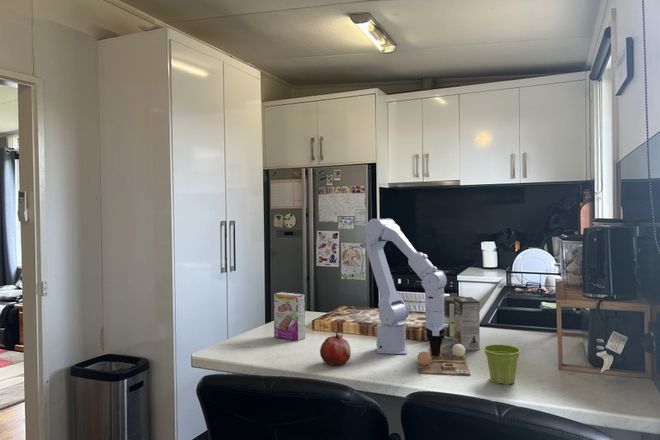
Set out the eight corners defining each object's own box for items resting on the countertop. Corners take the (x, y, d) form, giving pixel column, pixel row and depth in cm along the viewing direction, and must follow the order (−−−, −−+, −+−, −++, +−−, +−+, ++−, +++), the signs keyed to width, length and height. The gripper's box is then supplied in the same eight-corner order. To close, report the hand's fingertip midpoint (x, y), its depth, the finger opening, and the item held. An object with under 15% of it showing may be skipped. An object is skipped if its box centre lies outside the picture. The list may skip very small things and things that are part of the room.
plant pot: (501, 389, 125) (501, 355, 125) (476, 378, 133) (476, 346, 133) (528, 383, 129) (528, 351, 128) (503, 373, 137) (502, 342, 137)
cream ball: (452, 358, 149) (452, 345, 149) (451, 354, 153) (451, 342, 153) (465, 359, 148) (465, 346, 148) (464, 355, 152) (464, 342, 152)
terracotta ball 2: (429, 357, 150) (428, 344, 150) (428, 354, 154) (428, 341, 154) (442, 358, 149) (442, 345, 149) (441, 354, 153) (441, 341, 153)
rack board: (418, 373, 138) (418, 369, 138) (418, 353, 158) (418, 349, 158) (470, 375, 135) (470, 371, 135) (463, 355, 155) (463, 351, 155)
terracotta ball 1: (417, 367, 141) (417, 353, 141) (417, 363, 145) (417, 349, 145) (431, 367, 140) (431, 354, 140) (431, 363, 144) (430, 350, 144)
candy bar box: (273, 337, 181) (272, 293, 180) (281, 335, 185) (281, 291, 185) (297, 341, 175) (297, 296, 174) (305, 338, 179) (305, 294, 179)
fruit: (315, 361, 151) (315, 329, 150) (343, 357, 154) (343, 326, 154) (327, 370, 142) (326, 336, 142) (356, 365, 146) (355, 332, 146)
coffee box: (453, 343, 170) (453, 297, 170) (471, 342, 170) (471, 296, 170) (461, 350, 161) (461, 301, 160) (481, 349, 161) (480, 301, 161)
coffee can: (436, 337, 178) (435, 298, 178) (447, 331, 186) (446, 294, 186) (463, 341, 172) (463, 301, 171) (473, 335, 180) (473, 297, 180)
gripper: (449, 315, 144) (450, 360, 144) (446, 305, 158) (447, 347, 158) (425, 314, 145) (425, 360, 145) (424, 305, 159) (425, 346, 159)
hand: (435, 353), depth 152 cm, fingers closed on terracotta ball 2, 4 cm apart
